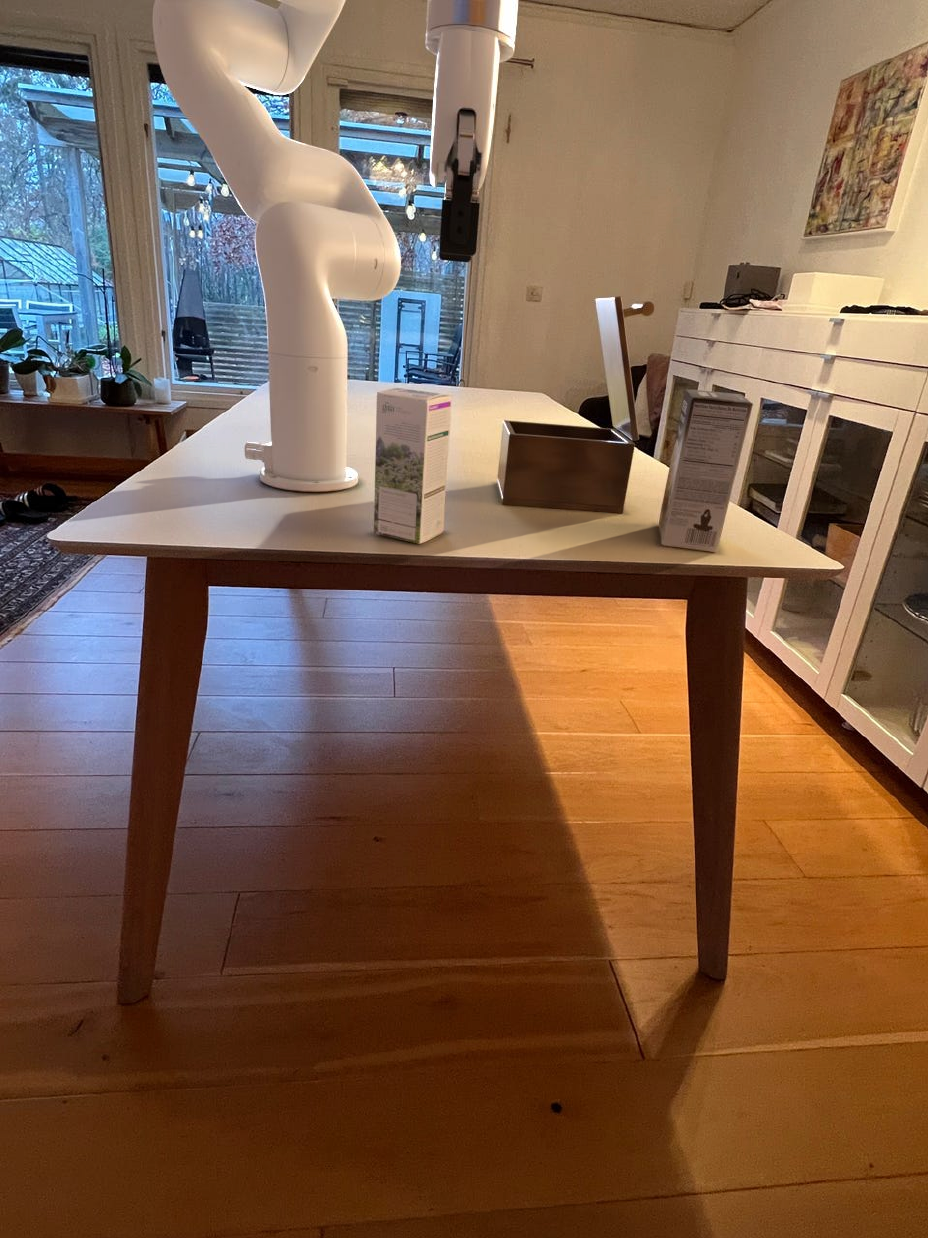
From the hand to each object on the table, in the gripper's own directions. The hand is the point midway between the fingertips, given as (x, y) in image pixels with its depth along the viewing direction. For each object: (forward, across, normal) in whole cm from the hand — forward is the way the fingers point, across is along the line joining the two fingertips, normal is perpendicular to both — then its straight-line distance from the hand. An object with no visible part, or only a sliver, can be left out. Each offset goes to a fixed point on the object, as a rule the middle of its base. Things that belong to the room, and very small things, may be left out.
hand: (456, 257), depth 65 cm
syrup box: (+27, +2, -3) cm, 27 cm away
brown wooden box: (+26, -19, +16) cm, 36 cm away
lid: (+10, -18, +21) cm, 30 cm away
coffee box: (+27, -3, +29) cm, 39 cm away
